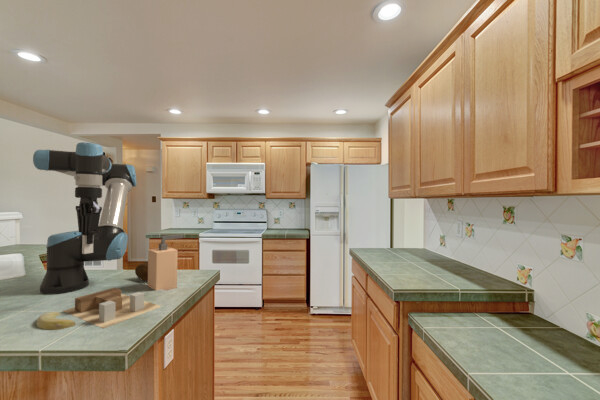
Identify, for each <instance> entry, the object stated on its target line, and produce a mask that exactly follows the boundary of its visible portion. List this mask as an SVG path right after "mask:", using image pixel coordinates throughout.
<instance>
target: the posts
mask: <svg viewBox="0 0 600 400" xmlns="http://www.w3.org/2000/svg"><path fill="white" fill-rule="evenodd" d="M129 296H130V310H132V311H138V310H141V309H144V301H145V293H144V292H141V291H137V292H134V293H130V294H129ZM115 307H116V302H113V301H107V302H104V303H100V304H99V321H102V322H104V323H105V322H108V321H110V320H113V319H115Z"/></svg>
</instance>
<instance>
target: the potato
mask: <svg viewBox="0 0 600 400" xmlns="http://www.w3.org/2000/svg"><path fill="white" fill-rule="evenodd" d="M134 273H135V276H136V278H138V279H140V280H141V281H142V282H148V260H147V261H144V262H143V263H139V264H138V265H137V266H136V267H135V270H134Z"/></svg>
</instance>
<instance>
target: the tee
mask: <svg viewBox="0 0 600 400" xmlns="http://www.w3.org/2000/svg"><path fill="white" fill-rule="evenodd" d="M121 294H122V289H120V288H118V287H111V288H108V289H104V290H100V291H96V292H94V293H90V294H85V295H82V296H77V297H75V298H74V307H75V311H78V312H80V313H83V312H86V311H89V310H92V309H98V310H99V304H100V303H104V302H107V301H113V302H116V307H115V311H118V310H121V309H122V297H121Z"/></svg>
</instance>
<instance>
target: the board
mask: <svg viewBox="0 0 600 400" xmlns="http://www.w3.org/2000/svg"><path fill="white" fill-rule="evenodd" d="M121 297H122V309H121V310H118V311H115V319H113V320H110V321H108V322H105V323H104V322H102V321H99V310H98V309H92V310H89V311H86V312H83V313H80V312H78V311H75V306H74V307H70V308H68V309H67V308H66V309H65V310H62V312H64V313H66V314H69V315H71V316H73V317H76V318H78V319H80V320H83V321H85V322H88V323H90V324H92V325H93V326H97V327H99V328H101V329H106V328H109V327H111V326H114V325H116V324H119V323H122V322H124V321H127V320H129V319H132V318H135V317H137V316H140V315H143V314H145V313H148V312H151V311H153V310H157V309H158V308H161V307H162V305H159V304H156V303H153V302H149V301H146V300H144V309H141V310H138V311H132V310H130V295H127V294H123V293H121Z"/></svg>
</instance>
